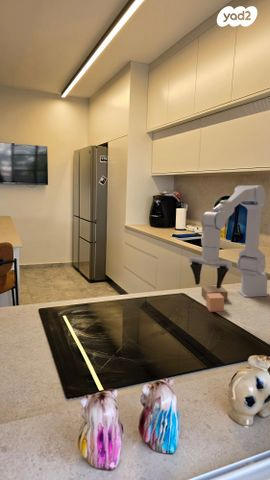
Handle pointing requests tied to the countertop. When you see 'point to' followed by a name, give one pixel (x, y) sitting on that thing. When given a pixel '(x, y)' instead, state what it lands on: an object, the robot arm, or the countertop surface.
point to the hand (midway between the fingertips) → (207, 286)
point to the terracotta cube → (215, 302)
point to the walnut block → (214, 291)
